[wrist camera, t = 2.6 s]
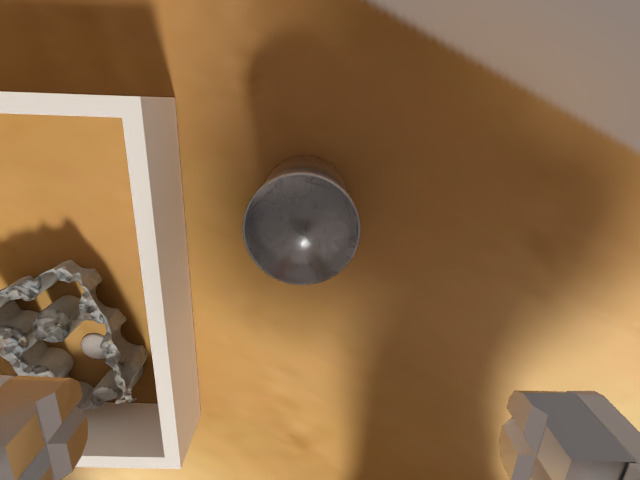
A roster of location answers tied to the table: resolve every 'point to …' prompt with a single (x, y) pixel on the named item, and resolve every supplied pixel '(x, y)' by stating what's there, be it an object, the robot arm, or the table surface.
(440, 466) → the table surface
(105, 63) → the table surface
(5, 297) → the egg carton
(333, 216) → the metal tin
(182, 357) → the tote
